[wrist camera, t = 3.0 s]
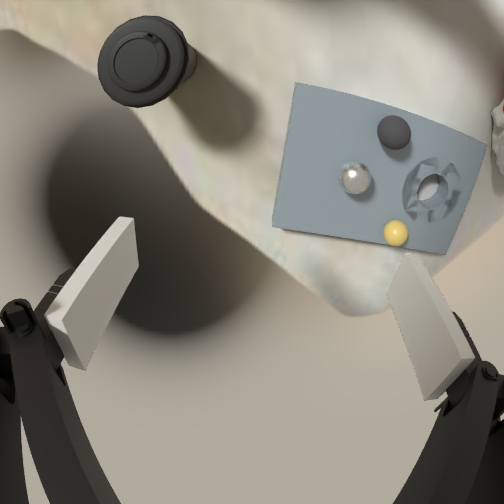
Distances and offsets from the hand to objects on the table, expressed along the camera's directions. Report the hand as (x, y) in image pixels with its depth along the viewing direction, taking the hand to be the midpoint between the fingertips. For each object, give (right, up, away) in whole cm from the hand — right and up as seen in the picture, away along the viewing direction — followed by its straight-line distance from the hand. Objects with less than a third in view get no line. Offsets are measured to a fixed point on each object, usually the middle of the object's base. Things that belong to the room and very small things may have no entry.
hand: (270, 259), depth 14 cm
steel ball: (+9, +8, +14) cm, 19 cm away
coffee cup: (-9, +20, +12) cm, 26 cm away
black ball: (+13, +12, +11) cm, 21 cm away
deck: (+14, +9, +18) cm, 25 cm away
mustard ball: (+16, +2, +18) cm, 24 cm away
